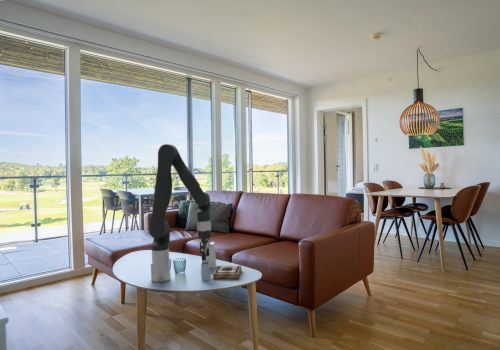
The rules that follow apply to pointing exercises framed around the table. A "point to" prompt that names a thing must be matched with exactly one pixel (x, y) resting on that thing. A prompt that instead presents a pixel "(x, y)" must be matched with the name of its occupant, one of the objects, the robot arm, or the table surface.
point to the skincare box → (211, 255)
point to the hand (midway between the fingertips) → (205, 258)
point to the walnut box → (227, 272)
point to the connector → (205, 270)
